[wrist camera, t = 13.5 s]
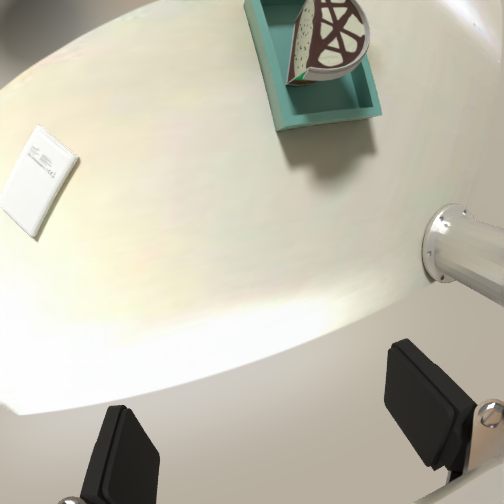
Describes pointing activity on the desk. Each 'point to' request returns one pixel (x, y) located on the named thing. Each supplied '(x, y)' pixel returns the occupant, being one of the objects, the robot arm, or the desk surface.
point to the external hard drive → (37, 179)
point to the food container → (327, 41)
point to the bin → (311, 96)
